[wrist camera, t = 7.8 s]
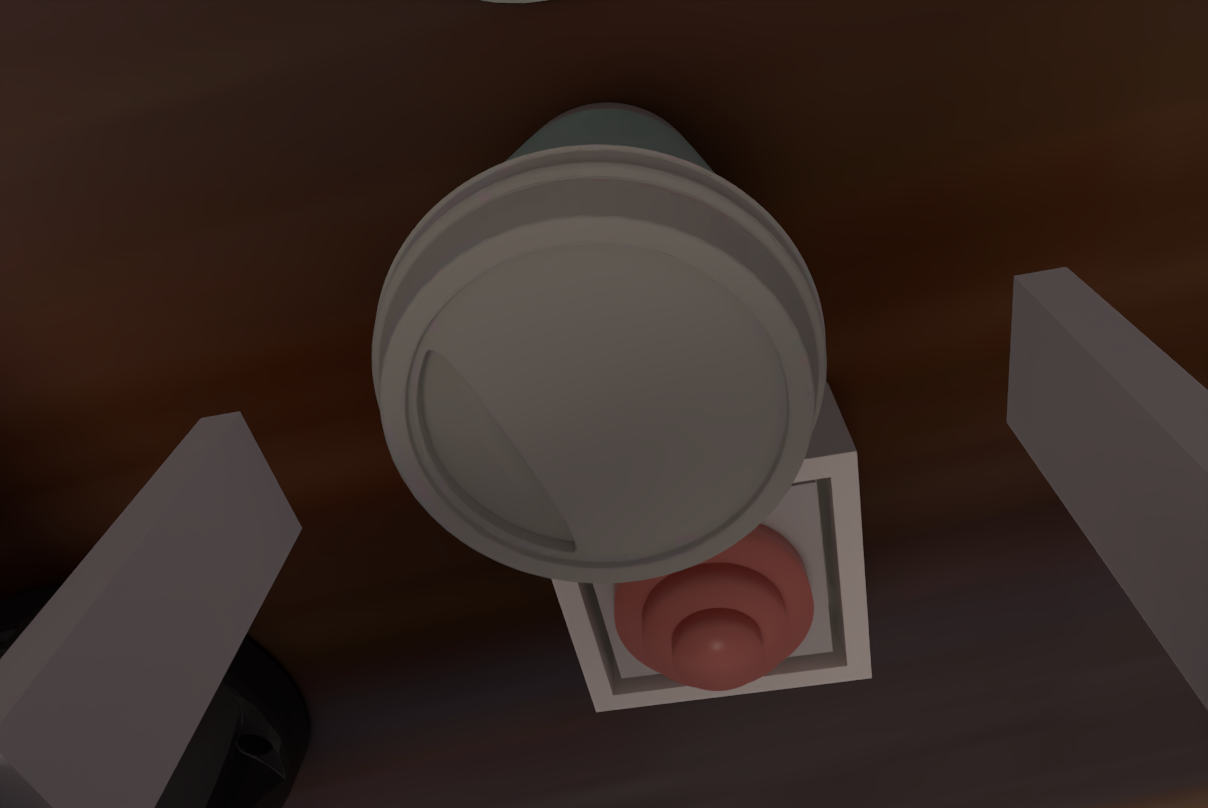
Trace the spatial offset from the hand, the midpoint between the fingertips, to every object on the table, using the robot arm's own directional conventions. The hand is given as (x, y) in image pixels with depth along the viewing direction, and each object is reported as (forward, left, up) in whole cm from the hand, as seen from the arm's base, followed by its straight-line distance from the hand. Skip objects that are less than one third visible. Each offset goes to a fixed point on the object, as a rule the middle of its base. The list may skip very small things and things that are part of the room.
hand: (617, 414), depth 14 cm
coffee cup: (0, 0, -12) cm, 12 cm away
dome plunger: (-8, -9, -10) cm, 16 cm away
